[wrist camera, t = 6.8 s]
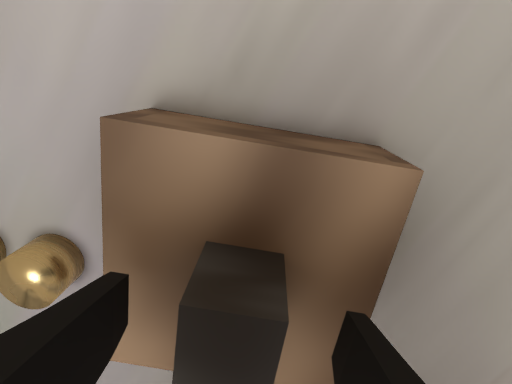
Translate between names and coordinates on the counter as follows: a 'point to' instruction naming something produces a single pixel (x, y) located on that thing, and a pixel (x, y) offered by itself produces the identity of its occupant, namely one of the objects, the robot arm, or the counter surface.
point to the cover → (244, 243)
